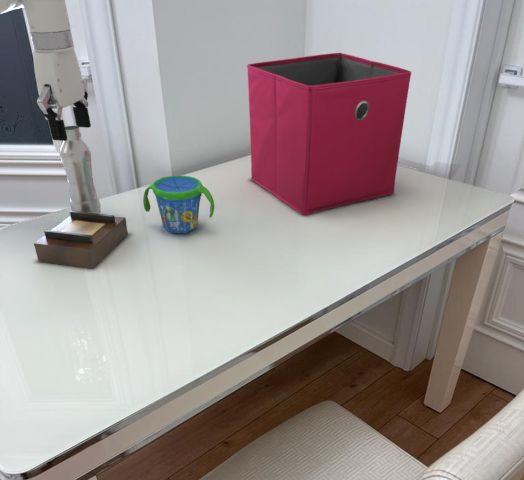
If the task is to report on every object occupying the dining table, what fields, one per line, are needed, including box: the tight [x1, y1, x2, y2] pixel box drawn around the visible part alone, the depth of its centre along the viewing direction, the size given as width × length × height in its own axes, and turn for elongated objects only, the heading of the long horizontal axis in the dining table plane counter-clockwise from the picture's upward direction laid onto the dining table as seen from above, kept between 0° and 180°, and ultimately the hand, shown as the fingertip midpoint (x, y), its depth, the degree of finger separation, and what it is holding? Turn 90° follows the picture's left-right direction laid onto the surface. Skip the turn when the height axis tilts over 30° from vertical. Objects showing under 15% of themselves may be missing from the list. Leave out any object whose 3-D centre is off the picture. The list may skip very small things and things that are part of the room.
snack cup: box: [142, 175, 215, 235], centre depth 120 cm, size 16×10×10 cm
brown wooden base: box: [33, 210, 129, 269], centre depth 114 cm, size 12×16×6 cm
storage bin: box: [246, 52, 412, 217], centre depth 134 cm, size 28×29×28 cm
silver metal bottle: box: [59, 125, 102, 214], centre depth 121 cm, size 6×7×20 cm
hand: (72, 133), depth 116 cm, fingers open, 9 cm apart
